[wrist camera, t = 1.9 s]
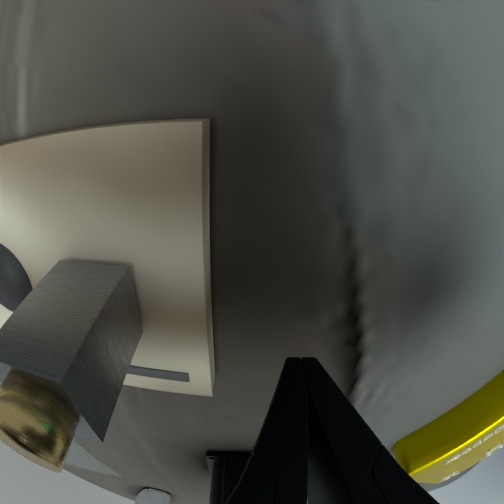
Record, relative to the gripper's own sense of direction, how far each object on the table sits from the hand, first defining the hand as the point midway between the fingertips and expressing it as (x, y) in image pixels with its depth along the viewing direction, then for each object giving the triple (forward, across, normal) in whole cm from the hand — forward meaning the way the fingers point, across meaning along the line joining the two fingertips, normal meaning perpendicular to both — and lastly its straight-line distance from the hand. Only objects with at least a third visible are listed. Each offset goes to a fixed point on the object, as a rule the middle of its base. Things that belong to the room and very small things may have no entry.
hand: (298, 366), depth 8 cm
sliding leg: (+2, +7, 0) cm, 7 cm away
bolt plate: (+4, +16, 0) cm, 17 cm away
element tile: (+5, -22, +17) cm, 29 cm away
